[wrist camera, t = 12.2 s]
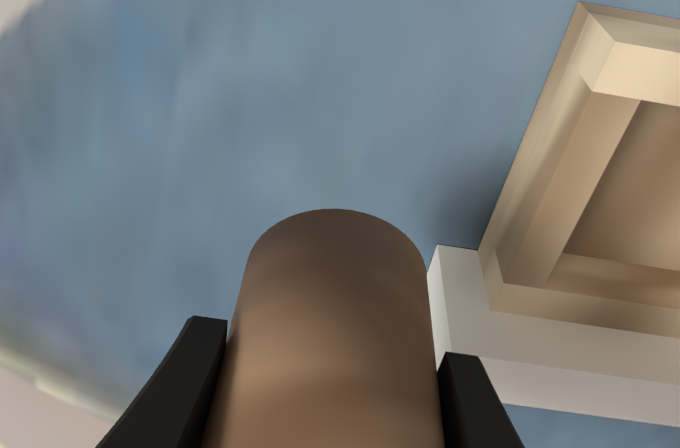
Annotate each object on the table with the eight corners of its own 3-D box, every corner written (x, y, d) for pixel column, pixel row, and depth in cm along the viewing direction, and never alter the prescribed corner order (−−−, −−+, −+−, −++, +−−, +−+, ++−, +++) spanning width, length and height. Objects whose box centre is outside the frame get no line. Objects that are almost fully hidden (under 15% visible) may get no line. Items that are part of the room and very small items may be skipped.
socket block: (887, 57, 16) (974, 106, 14) (711, 286, 22) (753, 349, 19) (578, 0, 16) (615, 41, 13) (477, 250, 21) (490, 310, 19)
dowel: (448, 225, 12) (534, 741, 6) (404, 352, 14) (428, 810, 8) (252, 194, 12) (108, 699, 5) (241, 328, 14) (133, 783, 8)
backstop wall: (749, 292, 22) (832, 407, 18) (720, 328, 23) (791, 442, 19) (437, 244, 21) (452, 353, 17) (423, 284, 22) (434, 393, 18)
